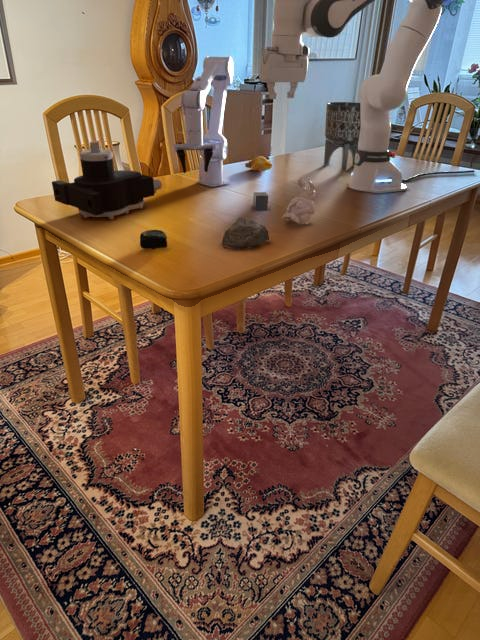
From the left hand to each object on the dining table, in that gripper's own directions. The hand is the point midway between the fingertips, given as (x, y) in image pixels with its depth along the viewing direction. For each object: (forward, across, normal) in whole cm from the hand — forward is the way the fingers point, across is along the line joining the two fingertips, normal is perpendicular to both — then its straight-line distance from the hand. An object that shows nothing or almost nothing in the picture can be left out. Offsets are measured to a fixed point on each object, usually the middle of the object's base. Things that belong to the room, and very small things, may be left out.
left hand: (195, 171), depth 160 cm
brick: (+8, +18, -21) cm, 28 cm away
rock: (+8, +4, -52) cm, 53 cm away
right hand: (-24, +26, -13) cm, 38 cm away
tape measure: (+8, -20, -50) cm, 54 cm away
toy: (+8, +36, +35) cm, 51 cm away
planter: (+8, +75, +34) cm, 83 cm away
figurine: (+8, +24, -38) cm, 46 cm away
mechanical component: (+8, -28, -13) cm, 32 cm away
